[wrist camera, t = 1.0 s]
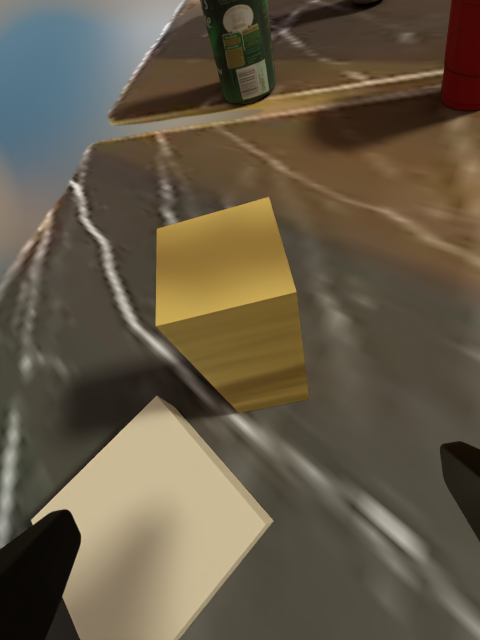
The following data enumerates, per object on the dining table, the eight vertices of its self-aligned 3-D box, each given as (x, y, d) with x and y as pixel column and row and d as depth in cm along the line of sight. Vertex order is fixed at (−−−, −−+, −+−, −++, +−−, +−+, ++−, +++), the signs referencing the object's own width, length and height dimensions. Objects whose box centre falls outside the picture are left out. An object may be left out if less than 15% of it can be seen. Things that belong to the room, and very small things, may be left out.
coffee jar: (223, 81, 48) (176, -121, 32) (273, 66, 47) (249, -151, 31) (223, 113, 43) (167, -107, 27) (279, 98, 42) (254, -142, 26)
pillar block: (308, 399, 21) (296, 291, 10) (238, 413, 22) (155, 326, 11) (292, 336, 24) (268, 197, 13) (230, 350, 24) (156, 228, 13)
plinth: (145, 681, 16) (111, 716, 13) (66, 517, 21) (30, 520, 18) (273, 520, 18) (265, 524, 16) (174, 406, 23) (156, 395, 20)
